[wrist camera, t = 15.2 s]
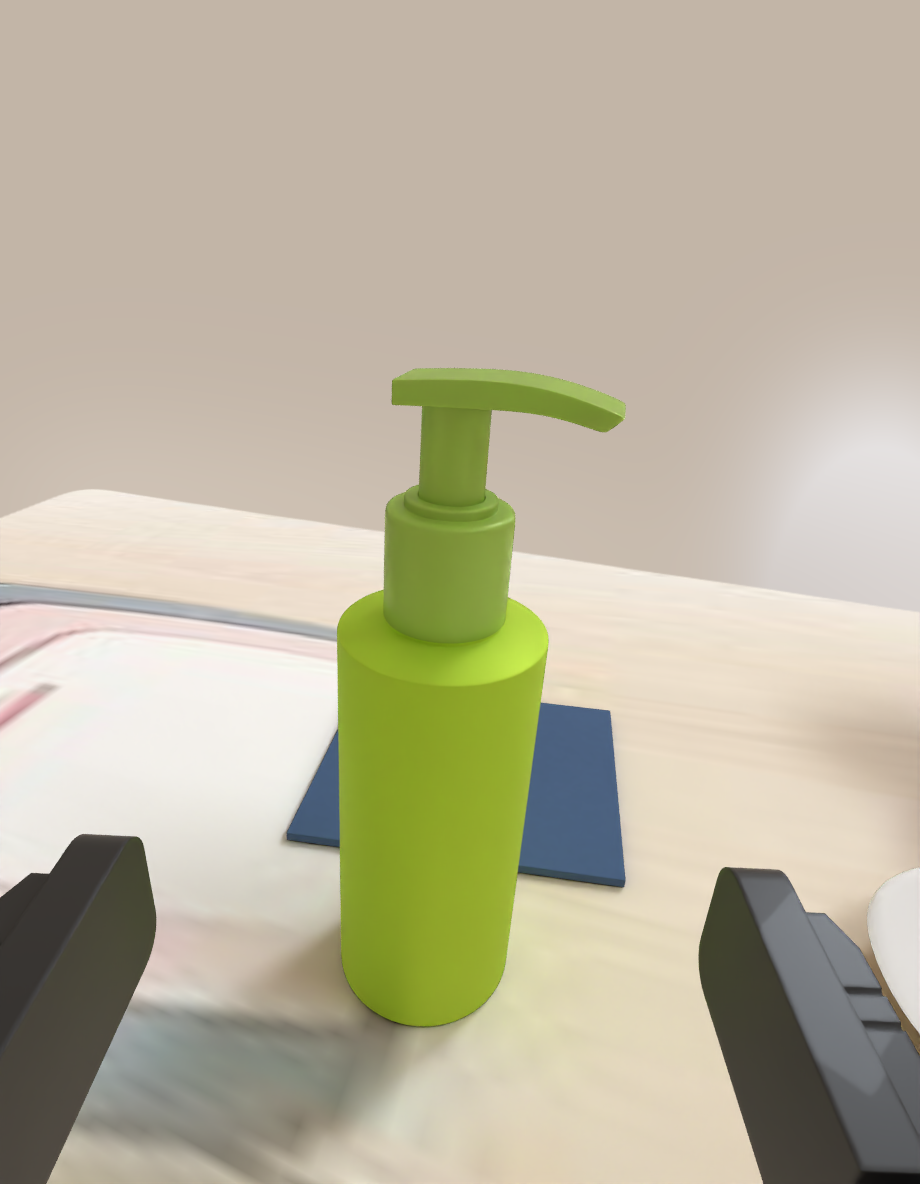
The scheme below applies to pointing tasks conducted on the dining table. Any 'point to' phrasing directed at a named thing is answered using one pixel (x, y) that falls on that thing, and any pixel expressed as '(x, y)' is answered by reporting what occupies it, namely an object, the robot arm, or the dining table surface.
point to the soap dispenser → (442, 711)
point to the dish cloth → (528, 800)
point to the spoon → (898, 939)
